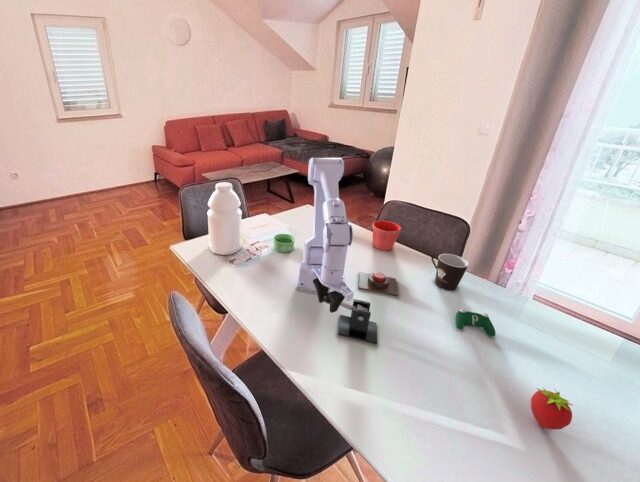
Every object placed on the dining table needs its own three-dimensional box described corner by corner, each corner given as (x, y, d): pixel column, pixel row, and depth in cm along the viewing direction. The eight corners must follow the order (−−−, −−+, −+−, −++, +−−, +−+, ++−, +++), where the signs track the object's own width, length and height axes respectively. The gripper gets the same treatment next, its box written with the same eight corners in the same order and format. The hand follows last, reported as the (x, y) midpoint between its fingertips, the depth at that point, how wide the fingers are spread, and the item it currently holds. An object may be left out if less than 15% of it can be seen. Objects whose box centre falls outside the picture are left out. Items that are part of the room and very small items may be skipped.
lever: (321, 303, 87) (324, 295, 86) (322, 297, 90) (326, 289, 89) (363, 321, 85) (368, 313, 83) (363, 314, 87) (368, 306, 86)
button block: (358, 290, 106) (359, 282, 104) (359, 274, 114) (360, 267, 113) (397, 298, 102) (399, 290, 101) (395, 281, 110) (396, 274, 109)
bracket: (337, 336, 87) (341, 311, 83) (339, 317, 94) (343, 293, 90) (376, 346, 83) (382, 320, 80) (375, 325, 90) (381, 301, 87)
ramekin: (273, 242, 137) (273, 233, 135) (294, 243, 136) (294, 234, 134) (272, 252, 129) (272, 242, 127) (294, 253, 128) (295, 244, 126)
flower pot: (401, 252, 129) (406, 231, 125) (374, 252, 129) (378, 231, 125) (390, 240, 138) (394, 220, 135) (365, 240, 139) (368, 220, 135)
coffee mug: (464, 294, 104) (473, 268, 100) (436, 291, 105) (444, 265, 101) (450, 274, 114) (458, 250, 110) (424, 272, 116) (431, 248, 112)
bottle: (227, 236, 142) (226, 177, 131) (248, 247, 133) (249, 184, 122) (202, 246, 134) (198, 184, 122) (223, 259, 124) (221, 192, 113)
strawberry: (521, 430, 63) (539, 396, 59) (522, 403, 68) (539, 371, 64) (561, 451, 60) (584, 416, 56) (559, 421, 65) (580, 388, 61)
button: (373, 281, 106) (373, 276, 105) (372, 275, 109) (373, 271, 108) (384, 283, 105) (385, 278, 104) (384, 277, 108) (384, 273, 107)
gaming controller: (490, 337, 88) (489, 315, 91) (496, 336, 85) (495, 314, 87) (452, 329, 91) (452, 309, 93) (457, 328, 88) (457, 307, 90)
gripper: (365, 275, 79) (357, 317, 84) (326, 249, 91) (321, 288, 96) (344, 282, 76) (337, 326, 81) (307, 255, 88) (303, 294, 93)
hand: (327, 306), depth 89 cm, fingers open, 4 cm apart
